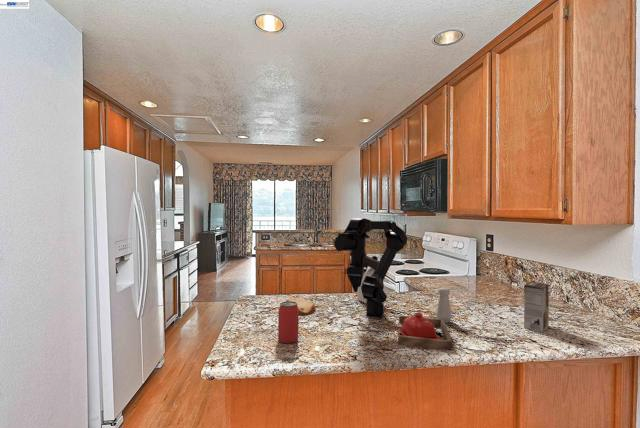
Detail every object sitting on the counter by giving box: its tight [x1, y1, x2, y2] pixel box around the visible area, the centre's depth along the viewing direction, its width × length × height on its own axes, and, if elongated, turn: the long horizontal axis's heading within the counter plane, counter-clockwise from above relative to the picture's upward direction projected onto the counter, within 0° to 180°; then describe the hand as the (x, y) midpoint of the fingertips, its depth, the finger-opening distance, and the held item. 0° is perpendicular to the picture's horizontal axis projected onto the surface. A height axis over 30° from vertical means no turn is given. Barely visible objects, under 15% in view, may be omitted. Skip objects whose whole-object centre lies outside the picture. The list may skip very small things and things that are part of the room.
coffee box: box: [523, 281, 550, 333], centre depth 118 cm, size 9×6×16 cm
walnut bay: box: [397, 314, 453, 351], centre depth 110 cm, size 16×22×2 cm
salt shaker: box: [435, 287, 453, 324], centre depth 124 cm, size 6×6×13 cm
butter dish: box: [397, 312, 442, 340], centre depth 107 cm, size 12×12×8 cm
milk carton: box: [357, 267, 375, 304], centre depth 152 cm, size 7×7×19 cm
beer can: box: [277, 300, 300, 344], centre depth 104 cm, size 7×7×12 cm
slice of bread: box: [286, 297, 316, 316], centre depth 140 cm, size 18×18×4 cm
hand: (357, 289), depth 125 cm, fingers open, 9 cm apart
